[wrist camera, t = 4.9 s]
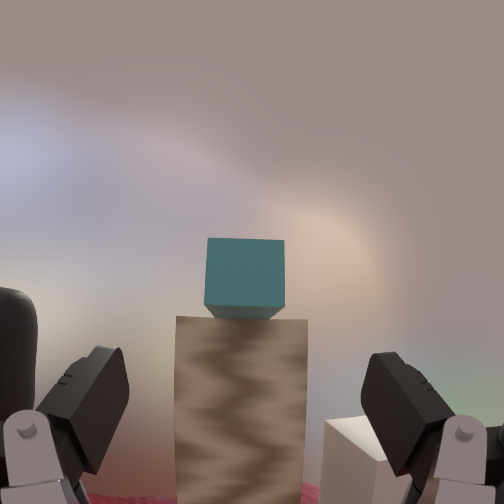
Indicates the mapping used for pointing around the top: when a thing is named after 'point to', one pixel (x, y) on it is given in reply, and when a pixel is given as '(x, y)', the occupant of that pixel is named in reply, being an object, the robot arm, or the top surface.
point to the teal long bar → (244, 278)
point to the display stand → (240, 410)
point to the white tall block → (357, 466)
